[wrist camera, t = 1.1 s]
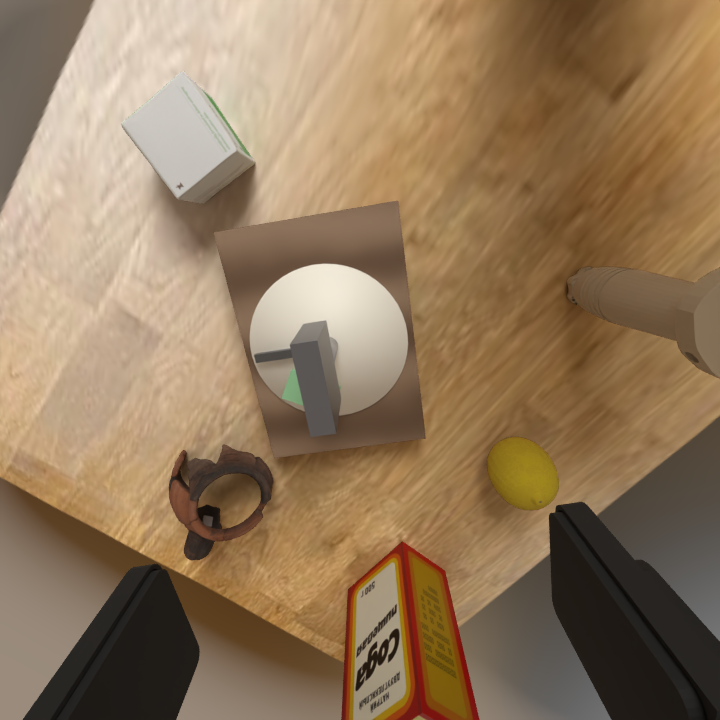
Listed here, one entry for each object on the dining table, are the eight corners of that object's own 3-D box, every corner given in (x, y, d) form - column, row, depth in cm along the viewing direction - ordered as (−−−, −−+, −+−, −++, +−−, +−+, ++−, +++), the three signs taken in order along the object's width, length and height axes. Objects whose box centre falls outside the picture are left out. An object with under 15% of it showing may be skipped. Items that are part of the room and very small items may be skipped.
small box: (258, 163, 30) (238, 151, 25) (203, 206, 31) (174, 202, 26) (211, 92, 28) (180, 65, 23) (155, 140, 29) (115, 123, 25)
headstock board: (227, 232, 31) (213, 232, 28) (395, 203, 30) (398, 200, 27) (281, 440, 38) (274, 458, 35) (421, 422, 37) (425, 438, 34)
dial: (232, 277, 29) (230, 278, 29) (397, 251, 29) (397, 251, 28) (270, 423, 34) (269, 426, 33) (415, 404, 33) (416, 406, 32)
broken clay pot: (178, 420, 38) (186, 454, 31) (268, 429, 43) (293, 460, 36) (151, 532, 38) (152, 590, 31) (242, 528, 43) (262, 577, 36)
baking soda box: (402, 541, 42) (423, 719, 26) (444, 570, 43) (487, 756, 28) (348, 589, 44) (338, 777, 29) (389, 616, 45) (401, 809, 30)
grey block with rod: (247, 321, 30) (201, 357, 22) (331, 308, 30) (317, 340, 21) (265, 389, 32) (229, 447, 23) (344, 378, 32) (336, 433, 23)
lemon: (474, 469, 38) (500, 528, 31) (480, 421, 37) (510, 471, 29) (528, 471, 38) (568, 530, 31) (538, 422, 37) (582, 473, 29)
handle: (579, 331, 33) (735, 405, 19) (537, 278, 32) (672, 316, 18) (627, 293, 32) (831, 343, 18) (586, 236, 31) (772, 242, 17)
